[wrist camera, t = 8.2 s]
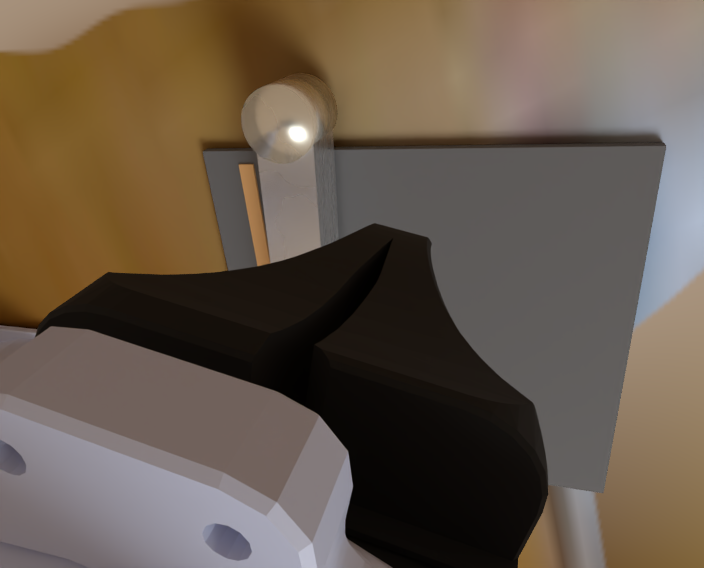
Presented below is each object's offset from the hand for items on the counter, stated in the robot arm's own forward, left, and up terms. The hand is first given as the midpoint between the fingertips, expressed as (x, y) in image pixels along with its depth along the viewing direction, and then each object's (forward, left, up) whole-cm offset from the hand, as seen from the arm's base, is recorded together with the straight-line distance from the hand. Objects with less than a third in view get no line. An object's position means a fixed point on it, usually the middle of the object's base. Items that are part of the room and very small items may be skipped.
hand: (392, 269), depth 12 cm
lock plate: (-1, -7, -8) cm, 11 cm away
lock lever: (-5, -4, -8) cm, 10 cm away
